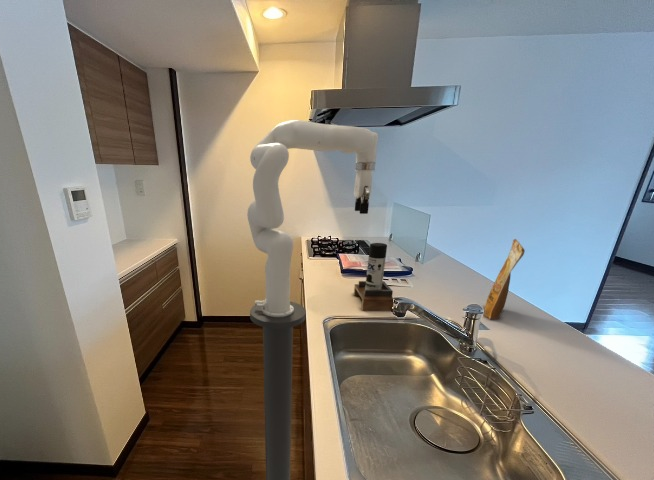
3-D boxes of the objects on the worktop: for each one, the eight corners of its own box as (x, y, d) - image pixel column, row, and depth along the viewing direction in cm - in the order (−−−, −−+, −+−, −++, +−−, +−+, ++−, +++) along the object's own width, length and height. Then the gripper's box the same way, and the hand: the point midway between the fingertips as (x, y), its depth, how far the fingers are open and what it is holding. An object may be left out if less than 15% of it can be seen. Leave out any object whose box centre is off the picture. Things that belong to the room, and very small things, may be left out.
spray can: (361, 290, 135) (366, 243, 128) (373, 287, 138) (378, 241, 131) (372, 295, 130) (378, 246, 122) (384, 292, 133) (391, 244, 125)
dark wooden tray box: (362, 310, 128) (364, 293, 125) (353, 294, 145) (355, 279, 142) (392, 310, 127) (395, 293, 125) (380, 294, 144) (382, 279, 141)
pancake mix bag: (505, 306, 130) (524, 238, 120) (503, 323, 116) (526, 247, 105) (485, 303, 134) (503, 236, 123) (482, 319, 119) (501, 245, 109)
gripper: (351, 168, 134) (348, 209, 140) (360, 167, 118) (356, 214, 124) (369, 167, 133) (365, 209, 140) (380, 167, 117) (375, 214, 124)
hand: (360, 212), depth 132 cm, fingers open, 9 cm apart
